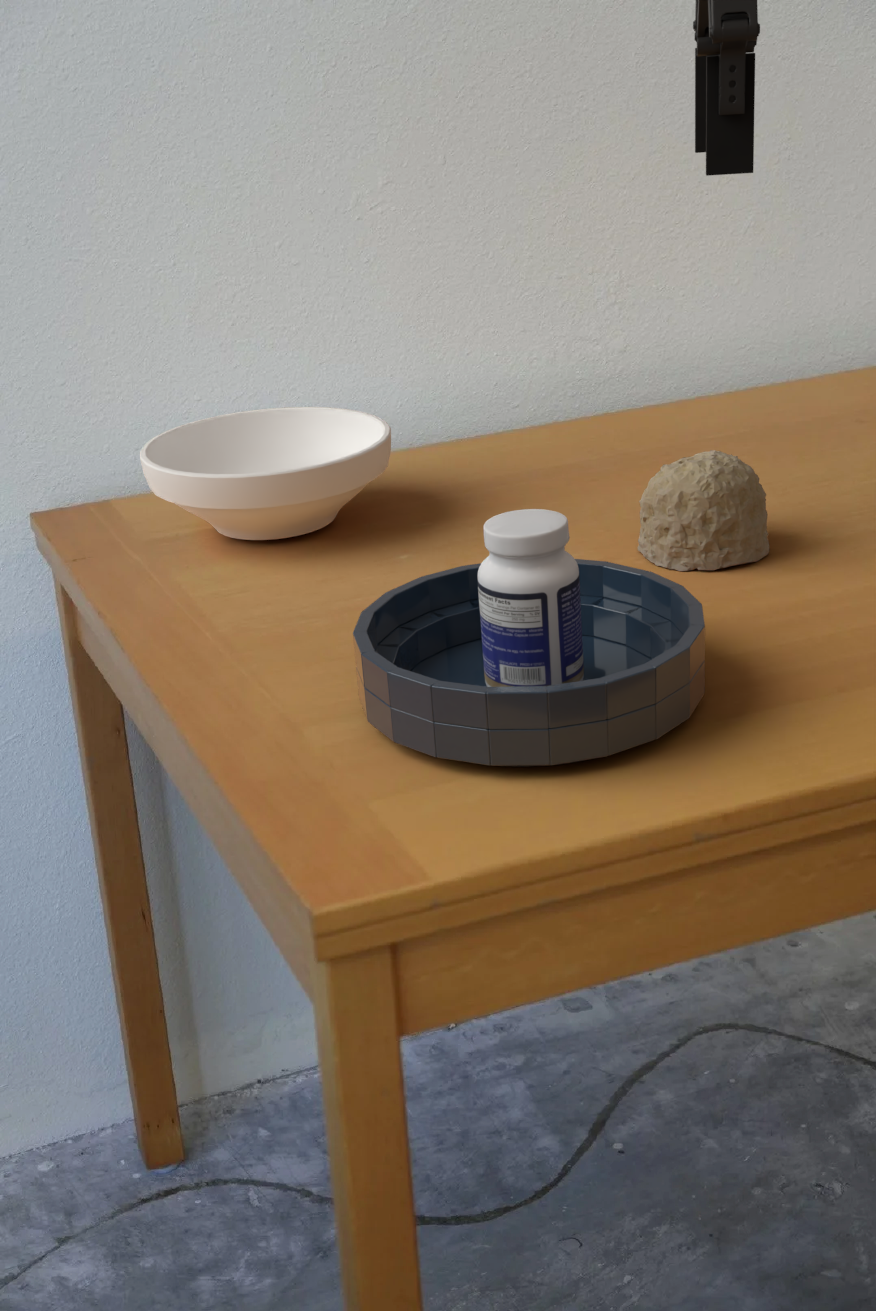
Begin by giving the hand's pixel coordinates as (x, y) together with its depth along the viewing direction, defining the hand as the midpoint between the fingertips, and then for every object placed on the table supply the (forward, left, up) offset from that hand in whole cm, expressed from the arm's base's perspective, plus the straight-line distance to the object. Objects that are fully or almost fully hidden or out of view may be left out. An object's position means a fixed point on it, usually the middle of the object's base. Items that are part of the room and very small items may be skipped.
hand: (722, 162), depth 93 cm
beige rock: (+1, -2, -27) cm, 27 cm away
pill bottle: (+12, +22, -26) cm, 36 cm away
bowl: (+34, -10, -27) cm, 45 cm away
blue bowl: (+12, +22, -27) cm, 37 cm away
